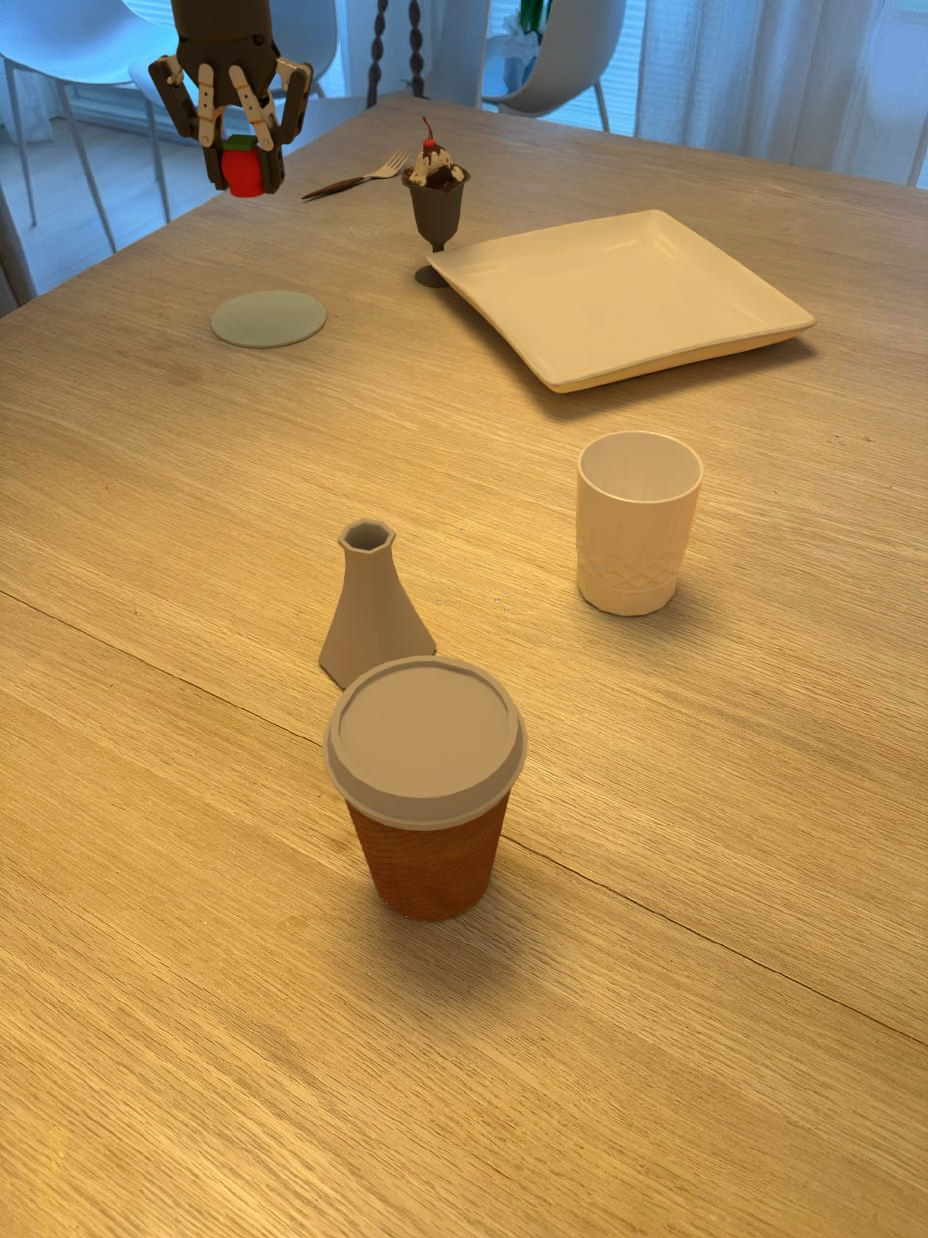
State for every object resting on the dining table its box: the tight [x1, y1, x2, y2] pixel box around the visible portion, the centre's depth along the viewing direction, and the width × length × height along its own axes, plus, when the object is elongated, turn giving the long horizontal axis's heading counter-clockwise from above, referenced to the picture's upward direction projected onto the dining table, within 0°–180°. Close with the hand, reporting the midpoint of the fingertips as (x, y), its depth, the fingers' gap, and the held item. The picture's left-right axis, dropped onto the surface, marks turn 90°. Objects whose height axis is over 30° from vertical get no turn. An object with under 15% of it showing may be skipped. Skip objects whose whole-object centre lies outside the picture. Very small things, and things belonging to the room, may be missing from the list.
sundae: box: [400, 115, 472, 288], centre depth 102 cm, size 7×7×15 cm
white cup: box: [575, 429, 705, 617], centre depth 69 cm, size 8×8×10 cm
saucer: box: [210, 290, 328, 349], centre depth 101 cm, size 11×11×1 cm
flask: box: [317, 517, 437, 689], centre depth 64 cm, size 7×7×10 cm
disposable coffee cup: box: [321, 654, 529, 923], centre depth 52 cm, size 10×10×12 cm
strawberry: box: [221, 133, 265, 199], centre depth 90 cm, size 4×4×4 cm
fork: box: [300, 147, 413, 200], centre depth 125 cm, size 3×16×2 cm, turn 133°
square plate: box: [425, 209, 818, 394], centre depth 99 cm, size 27×27×4 cm
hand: (248, 187), depth 92 cm, fingers closed on strawberry, 4 cm apart
